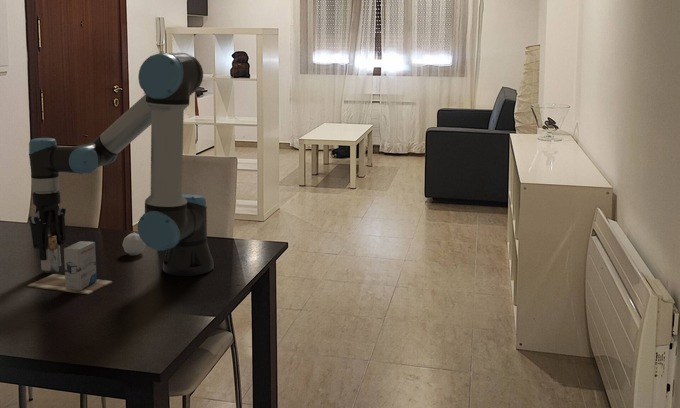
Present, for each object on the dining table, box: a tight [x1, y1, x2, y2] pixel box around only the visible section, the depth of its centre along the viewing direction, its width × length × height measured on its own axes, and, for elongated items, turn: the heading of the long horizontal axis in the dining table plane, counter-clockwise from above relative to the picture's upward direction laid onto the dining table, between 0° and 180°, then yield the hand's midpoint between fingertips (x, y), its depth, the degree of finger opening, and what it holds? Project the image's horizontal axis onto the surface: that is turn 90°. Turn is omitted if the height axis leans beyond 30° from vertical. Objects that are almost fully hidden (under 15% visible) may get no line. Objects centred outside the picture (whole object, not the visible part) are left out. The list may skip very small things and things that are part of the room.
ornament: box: [122, 231, 147, 256], centre depth 239 cm, size 7×7×8 cm
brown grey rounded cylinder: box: [44, 233, 60, 274], centre depth 220 cm, size 4×4×11 cm
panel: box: [27, 273, 113, 295], centre depth 209 cm, size 20×11×1 cm, turn 73°
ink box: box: [63, 240, 97, 290], centre depth 206 cm, size 9×5×12 cm, turn 167°
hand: (51, 267), depth 221 cm, fingers closed on brown grey rounded cylinder, 4 cm apart
